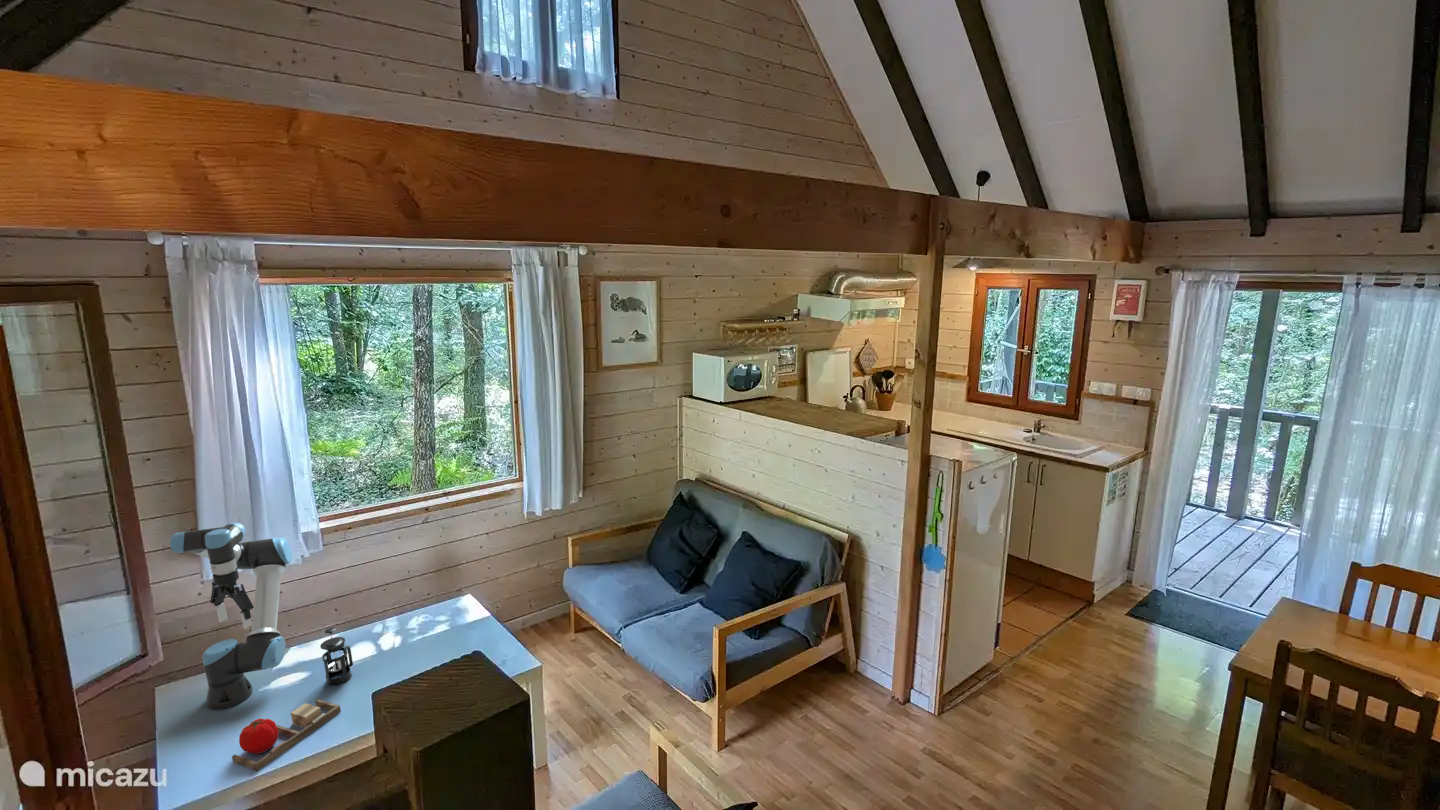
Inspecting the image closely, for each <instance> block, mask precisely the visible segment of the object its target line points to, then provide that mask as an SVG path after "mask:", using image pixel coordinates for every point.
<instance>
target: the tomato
mask: <svg viewBox="0 0 1440 810" xmlns="http://www.w3.org/2000/svg"><path fill="white" fill-rule="evenodd" d="M277 726H278V725H277V724H276V722H275V721H274V720H272V719H270V718H257V719H254V720H252V721H251V722H250V723H249V724H248V725H247V726H245V727H243V728H242V730H241V732H240V734H239V739H238V743H239V747H240V748H241V750H243V751H244V752H246V753H250V754H255V755H258V754H262V753H265V752H266V751H268V750H270V749H271V748H272V747H273V746H274V745H275V744H276V742H277V741H278V739H279V733H278V728H277Z"/></svg>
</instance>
